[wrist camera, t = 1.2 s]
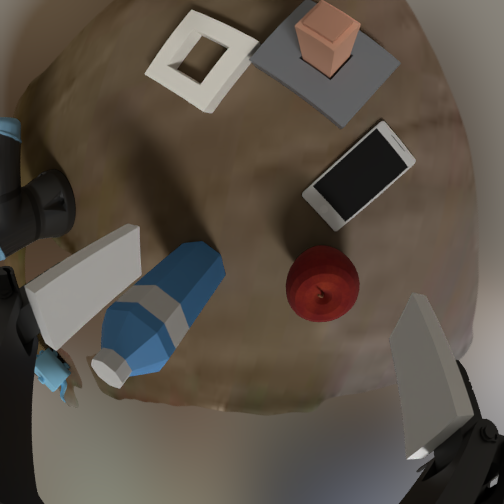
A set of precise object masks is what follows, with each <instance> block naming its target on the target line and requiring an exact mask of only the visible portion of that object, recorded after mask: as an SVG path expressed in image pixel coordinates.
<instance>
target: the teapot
mask: <svg viewBox="0 0 504 504" xmlns="http://www.w3.org/2000/svg"><path fill="white" fill-rule="evenodd" d="M41 352H42V354H41ZM57 356H58V353H57V352H56V351H55V350H53V352H52V351H51V350H50V348H49V347H48V348H47V349H46V350H45V351H43V350H41V351H40V355H37V356H36V357H38V358H37V359H36V363H35V371H34V372H35V373H36V374H37V376H38V377H39V378H38V380H39V381H40V382H41V383H42V384H44V383H45V384H46V386H47V387H48V388H49V389H50V390H51V391H52V392H54V391H55V390H56V389H57V388H58V387H59V386H60V385H61V392H60V397H61V399H62V400H63V401H64V402H65V400H64V393H65V391H66V388H67V382H66V380H65V379H66V378H67V377H68V376H69V375H70V374H71V372H70V371H69V370H68V368H70V367H69V365H68V364H67V363H62V362H61V361H60V360H59V359H58V358H57ZM65 403H66V402H65Z"/></svg>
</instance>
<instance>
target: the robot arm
mask: <svg viewBox="0 0 504 504" xmlns="http://www.w3.org/2000/svg"><path fill="white" fill-rule="evenodd" d="M21 143H22V141H21V123H20V121H19V120H18V119H16V118H9V117H0V261H1V260H4V259H5V258H6V257H8V256H10V255H11V254H13V253H15V252H16V251H18V250H20V249H22V248H23V247H25V246H27V245H29V244H30V243H32V242H34V241H36V240H38V239H43V238H49V237H54V238H55V237H60V236H62V235H64V234H66V233H68V232H69V231H70V230H71V229H72V227H73V224H74V220H75V201H74V196H73V192H72V189H71V186H70V184H69V182H68V180H67V179H66V177H65V176H64V175H63V174H62V173H61V172H60V171H58V170H55V169H51V170H48V171H44V172H42V173H41V174H39V175H38V176H37V178H35V179H33V180H32V181H31V182H29V183H28V184H27V185H26V186H24V187H21V177H20V150H21ZM141 275H142V274H141V258H140V230H139V226H135V225H131V224H126V225H124V226H123V227H121V228H119V229H117V230H115V231H113V232H111V233H110V234H108V235H106V236H104V237H102V238H101V239H99V240H97V241H95V242H94V243H92V244H90V245H88V246H87V247H85V248H83V249H82V250H80V251H78V252H77V253H75V254H73V255H72V256H70V257H68V258H67V259H65V260H63V261H62V262H59V263H57V264H56V265H54V266H53V267H51V268H50V269H48V270H46V271H45V272H44V273H42V274H40V275H39V276H37V277H36V278H34V279H33V280H31V281H30V282H28V283H27V284H25V285H24V286H22V287H21V288H19V287H18V284H17V281H16V277H15V274H14V270H13V268H12V267H10V266H3V267H0V504H44V503H43V501H42V500H41V498H40V497H39V495H38V492H37V488H36V482H35V474H34V465H33V453H32V423H31V421H32V417H31V416H32V394H33V393H32V392H33V381H34V371H35V363H36V356H37V349H38V338H37V335H38V334H39V333H40V332H41V334H42V337H43V339H44V341H45V343H46V344H47V345H49V346H50V347H51V348H53V349H54V350H55V351H57V350H58V349H59V348H60V347H61V346H62V345H63V344H64V343H65V342H66V341H67V340H69V339H70V338H71V337H72V336H73V335H74V334H75V333H76V332H77V331H78V330H79V329H80V328H81V327H82V326H84V325H85V324H86V323H87V322H88V321H89V320H90V319H91V318H92V317H93V316H95V315H96V314H97V313H98V312H99V311H100V310H101V309H102V308H103V307H105V306H106V305H107V304H108V303H109V302H110V301H111V300H113V299H114V298H115V297H116V296H117V295H118V294H119V293H121V292H122V291H123V290H124V289H125V288H126V287H128V286H129V285H130V284H131V283H132V282H133V281H135V280H136V279H137V278H138V277H139V276H141ZM389 342H390V346H391V351H392V356H393V361H394V366H395V372H396V377H397V383H398V389H399V395H400V402H401V409H402V417H403V425H404V435H405V449H406V459H420V458H424V457H425V456H427V455H428V454H430V453H431V452H432V451H434V456H435V457H434V458H433V459H432V460H430V461H429V462H427V463H426V464H424V465H423V466H421V467H420V468H419V469H418V470H417V472H420V471H421V470H423V469H424V468H425V469H424V471H423V472H422V474H421V475H420V477H419V478H418V479H417V481H416V482H415V484H414V485H413V486H412V487H411V489H410V491H409V492H408V493H407V494H406V495H405V497H404V498H403V499H402V500H401V502H400V503H399V504H504V436H503V435H499V434H498V430H497V428H496V426H495V425H494V424H493V423H492V422H491V421H490V420H488V419H482V416H481V413H480V409H479V407H478V403H477V400H476V397H475V394H474V392H473V390H472V386H471V383H470V382H469V377H468V375H467V372H466V370H465V368H464V367H463V366H462V364H461V363H460V362H459V360H455V358H454V355H453V353H452V350H451V348H450V346H449V343H448V341H447V339H446V337H445V334H444V332H443V330H442V328H441V326H440V323H439V321H438V319H437V317H436V315H435V313H434V311H433V309H432V307H431V305H430V303H429V301H428V299H427V297H426V295H421V294H417V293H413V292H412V294H411V296H410V298H409V300H408V302H407V305H406V307H405V309H404V311H403V313H402V315H401V317H400V319H399V321H398V322H397V324H396V326H395V328H394V330H393V332H392V334H391V336H390V337H389ZM497 477H498V482H497V484H496V485H494V486H492V487H490V482H491V481H493V480H494V479H496V478H497Z"/></svg>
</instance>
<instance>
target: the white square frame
mask: <svg viewBox="0 0 504 504" xmlns="http://www.w3.org/2000/svg"><path fill="white" fill-rule="evenodd" d="M202 36H204V37H206V38H208V39H210V40H212V41H214V42H216V43H218V44H220V45H222V46H223V47H225V48H227V51H226V52H225V53H224V54H223V56H222V57H221V58H220V59H219V61H218V62H217V63H216V64H215V66H214V67H213V68H212V70H211V71H210V72H209V74H208V75H207V76H206V78H205V79H204V80H203V82H202V83H199V82H198V81H196V80H194V79H193V78H191V77H189V76H188V75H186V74H184V73H183V72H181V71H179V70H177V69H178V67H179V66H180V64H181V63H182V62H183V60H184V59H185V57H186V56H187V55H188V53H189V52H190V51H191V49H192V48H193V47H194V45H195V44H196V43H197V42H198V40H199V39H200V38H201V37H202ZM260 46H261V44H260V42H259V41H257V40H255V39H254V38H252V37H250V36H248V35H246V34H244V33H242V32H240V31H238V30H236V29H234V28H232V27H230V26H228V25H226V24H224V23H222V22H220V21H218V20H215V19H213V18H211V17H208V16H206V15H204V14H201V13H199V12H196V11H194V10H191V11H190V12H189V13H188V14H187V16H186V17H185V18H184V19H183V20H182V22H181V23H180V24H179V25H178V27H177V28H176V29H175V31H174V32H173V33H172V35H171V36H170V37H169V39H168V40H167V41H166V43H165V44H164V46H163V47H162V48H161V50H160V51H159V53H158V54H157V56H156V57H155V59H154V60H153V62H152V63H151V65H150V66H149V68H148V69H147V71H146V72H145V75H147V76H148V77H150V78H152V79H153V80H155V81H157V82H158V83H160V84H162V85H163V86H165V87H166V88H168V89H170V90H171V91H173V92H174V93H176V94H177V95H179V96H180V97H182V98H184V99H185V100H187V101H188V102H190V103H191V104H193V105H194V106H196V107H197V108H199V109H200V110H201V111H203V112H207V113H213V112H214V110H215V109H216V107H217V106H218V105H219V103H220V102H221V101H222V99H223V98H224V97H225V95H226V94H227V93H228V91H229V90H230V89H231V87H232V86H233V85H234V84H235V82H236V81H237V80H238V79H239V77H240V76H241V75H242V74H243V72H244V71H245V70H246V69H247V67H248V66H249V65H250V64H251V63H252V62H251V61H250V60H249V59H250V58H251V57H252V55H253V54H254V53H255V52H256V51H257V50H258V48H259V47H260Z"/></svg>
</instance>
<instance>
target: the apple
mask: <svg viewBox="0 0 504 504" xmlns="http://www.w3.org/2000/svg"><path fill="white" fill-rule="evenodd" d="M359 284H360V283H359V277H358V273H357V271H356V268H355V266H354V265H353V263H352V262H351V261H350V259H349V258H348V257H347V256H346V255H345V254H343V253H342V252H341V251H339V250H338V249H336V248H333V247H331V246H326V245H318V246H314V247H311V248H309V249H307V250H306V251H304V252H303V253H302V254H301V255H300V256H299V257H298V258H297V259H296V260H295V261H294V263H293V264H292V266H291V268H290V270H289V273H288V276H287V281H286V294H287V299H288V302H289V304H290V306H291V308H292V309H293V310H294V311H295V313H296V314H297V315H299V316H300V317H301V318H304V319H306V320H309V321H313V322H327V321H332V320H334V319H337V318H339V317H341V316H342V315H344V314H345V313H347V312H348V311H349V310H350V309H351V308H352V306H353V305H354V303H355V302H356V300H357V296H358V293H359Z"/></svg>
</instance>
